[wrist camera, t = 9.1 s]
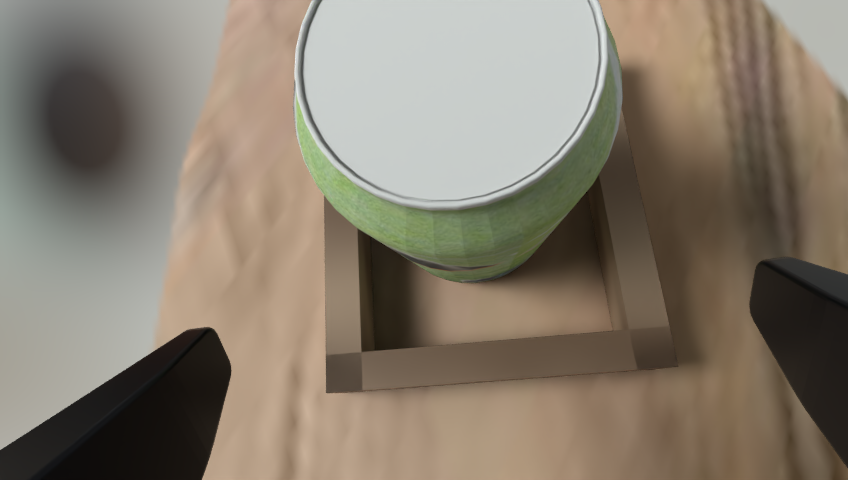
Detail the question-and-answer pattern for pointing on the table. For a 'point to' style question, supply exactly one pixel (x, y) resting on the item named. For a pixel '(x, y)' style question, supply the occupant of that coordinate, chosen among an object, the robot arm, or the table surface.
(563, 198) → the beverage can
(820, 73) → the table surface
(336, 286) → the walnut collar
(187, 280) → the table surface
